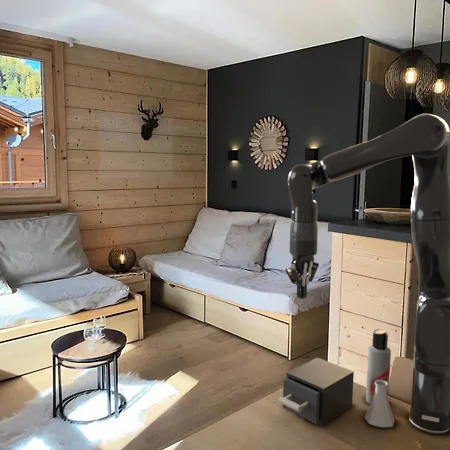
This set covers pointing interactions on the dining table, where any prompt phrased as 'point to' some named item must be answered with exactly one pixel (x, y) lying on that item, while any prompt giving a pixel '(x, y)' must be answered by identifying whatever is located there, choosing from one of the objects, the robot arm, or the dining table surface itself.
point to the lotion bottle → (378, 363)
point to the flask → (380, 407)
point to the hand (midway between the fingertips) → (301, 297)
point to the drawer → (301, 399)
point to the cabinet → (327, 385)
